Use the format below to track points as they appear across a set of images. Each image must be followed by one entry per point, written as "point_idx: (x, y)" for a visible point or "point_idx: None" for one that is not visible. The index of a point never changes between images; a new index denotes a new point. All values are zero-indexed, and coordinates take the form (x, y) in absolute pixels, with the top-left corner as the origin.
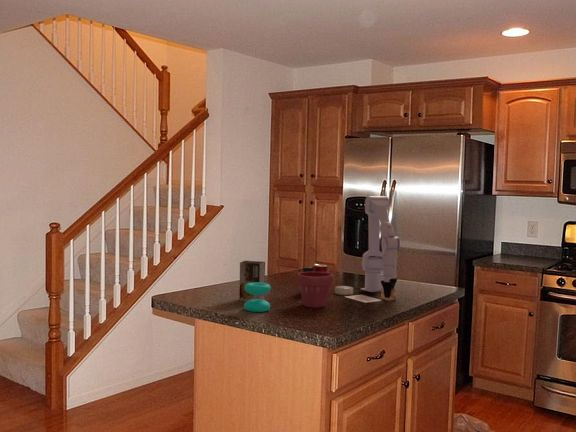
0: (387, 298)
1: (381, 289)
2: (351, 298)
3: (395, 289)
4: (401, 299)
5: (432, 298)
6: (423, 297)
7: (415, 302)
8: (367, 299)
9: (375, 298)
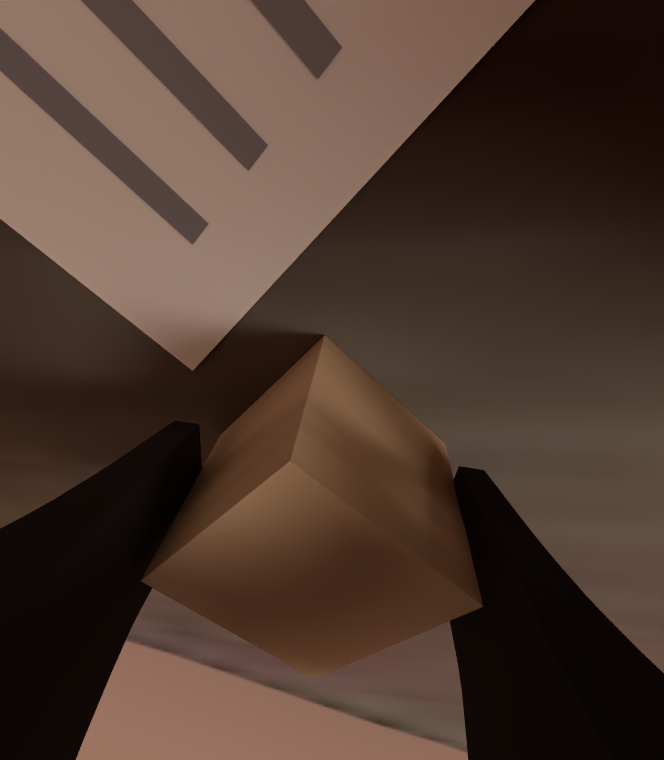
0: (219, 445)
1: (293, 448)
2: None
3: (318, 670)
4: None
5: None
6: None
7: None
8: (114, 40)
9: (311, 233)
